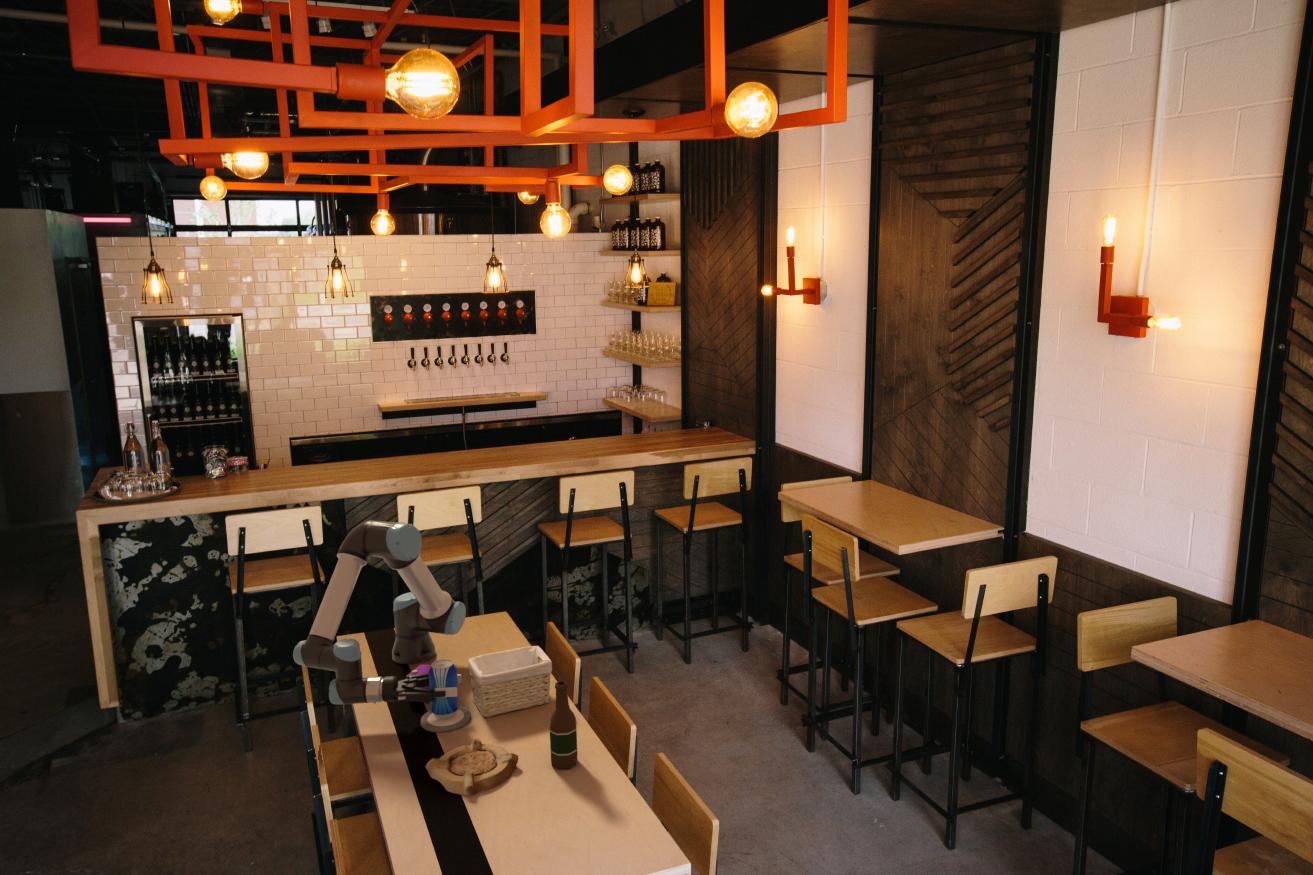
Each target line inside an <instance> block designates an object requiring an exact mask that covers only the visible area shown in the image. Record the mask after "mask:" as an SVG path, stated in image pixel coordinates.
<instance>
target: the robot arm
mask: <svg viewBox="0 0 1313 875" xmlns="http://www.w3.org/2000/svg"><path fill="white" fill-rule="evenodd" d="M422 538H423V537H422V535H421V532H420V530H419V529H418V528H417V527H416V526H415V525H413V524H412V523H406V522H403V521H402V522H395V521H384V520H383V521H381V520H373V519H372V520H367V521H364V522H361V523H360V524H358V525H356V526H355V527H354V528H353V529H352V530H351V531H350V532H349V533H348V534H347V535H346V537H345V539H344V540H342V542H341V545H340V546H339V548H338V551H337V554H336V557H337V558H338V560H337V563H336V565H335V568H334V570H333V573H332V575H331V577H330V580H329V584H328V585H327V588H326V590H325V592H324V595H323V598H322V601H321V603H320V606H319V608H318V611H317V614H316V616H315V618H314V621H313V624H312V625H311V628H310V631H309V634H308V636H307V639H305V640H301V641H299V642H298V643H297V644H296V645H295V646H294V649H293V653H292V657H293V661H294V662H295V664H297V665H298V666H299V665H300V666H303V667H306V668H313V669H320V670H325V671H330V672H331V671H332V672H335V679H332V680H331V681H330V683H329V688H328V690H329V691H328V698H329V702H330V703H331V704H332V705H345V706H346V705H354V704H355V705H357V704H371V703H372V704H375V705H376V704H377V703H382V702H384V703H393V702H394V703H395V702H396V701H397V700H398V703H404V702H406V703H407V702H411V703H412V702H413V703H414V702H419V703H424V702H431V701H435V698H438V697H456V696H458V697H459V692H458V693H457V687H447V688H435V691H434V690H431V689H425V688H420V687H425V686H429V674H428V673H426V674H418V675H408V674H407V675H405V676H406V678H405V679H400V680H399V678H398V677H397V675H390V676H386V675H385V676H384V677H383V676H372V677H371V676H369V677H364V676H363V663H362V662H363V661H362V652H361V648H360V647H361V646H360V642H359V641H358V640H357V639H355V638H348V639H347V638H345V639H340V640H338V641H336V642H335V643H334V641H335V638H336V634H337V632H338V629H339V627H340V625H341V621H342V619H343V617H344V615H345V614H344V613H345V612H346V609H347V606H348V603H349V600H350V599H351V596H352V593H353V591H354V588H355V585H356V583H357V580H358V577H359V575H360V572H361V570H362V568H363V567H364V566H366V565H367V563H368V562H369V559H370V558H371V557H374V558H381V559H383V561H384V562H385V563H386V565H387V566H388V567H389V568H390V569H392V570H396V571H397V572H398V574H399V575H400V577H401V578H402V581H404V583H405V584H406V586H407V587H408V589H409V590H410V592H406V593H402V594H400V595H399V596H397V597H396V598H394V599H393V609H392V611H393V619H394V622H393V623H394V629H395V630H394V631H395V638H394V639H395V640H394V643H393V647H392V651H391V654H392V655H391V657H392V661H393V662H395V663H397V664H402V665H414V664H419V663H420V664H421V663H423V662H426V661H429V660H430V659H432V658H433V657H434V656H436V645H435V643H434V642H433V639H432V636H431V634H433V633H434V634H441V635H445V636H449V635H450V636H454V635H457V634H458V633H460V632H461V630H462V628H463V626H464V623H465V621H466V615H467V614H466V613H467V611H466V609H467V608H466V606H465V603H463V602H461V601H458V600H457V601H455V600H454V599H453V598H452V596H451V595H450V593H449V592H447V591H445V590H442V589H441V587H440V585H439V584H438V582H437V580H436V579H435V577H434V576H433V574H432V573H431V571H430V570H429V568H428V566H427V565H426V563H425V562H424V560H423V559H422V556H421V555H420V554H421V551H422V547H423V542H422ZM430 633H431V634H430ZM333 643H334V644H333ZM457 681H458V685H459V684H462V674H459V673H457ZM426 698H427V699H426ZM431 699H432V700H431Z"/></svg>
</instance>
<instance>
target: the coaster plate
mask: <svg viewBox="0 0 1313 875" xmlns="http://www.w3.org/2000/svg"><path fill="white" fill-rule="evenodd" d="M471 718H472V716H471V711H470V710H469V709H468V708H466V707H464V706H460V705H459V709H458V710H457V712H456V714H455V715H453V716H451V717H447V718H438V717H436V716H434V714H433V713H432V712H431V709H430V710H429V711H427V712H426V713H424V714H423V715H422V716H421V717H420V726H421V728H422V729H423V730H425V731H427V732H429V733H438V734H439V733H440V734H441V733H449V732H452V731H453V732H454V731H457V730H459V729H462V728H463V727H465V726H467V724H468V723H469V722H470V721H471Z"/></svg>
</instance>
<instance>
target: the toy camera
mask: <svg viewBox="0 0 1313 875" xmlns="http://www.w3.org/2000/svg"><path fill="white" fill-rule="evenodd" d="M430 668H431V664H420V665H419V666H417V667H415V668H414V669H413V670H412V671H410V672H409V673H408V674H407V675H418V674H426V673H429V670H430ZM420 688H425V689H430V688H429V686H425V687H420ZM426 699H427V698H426ZM423 703H425V704H431V703H430V702H423Z"/></svg>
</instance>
